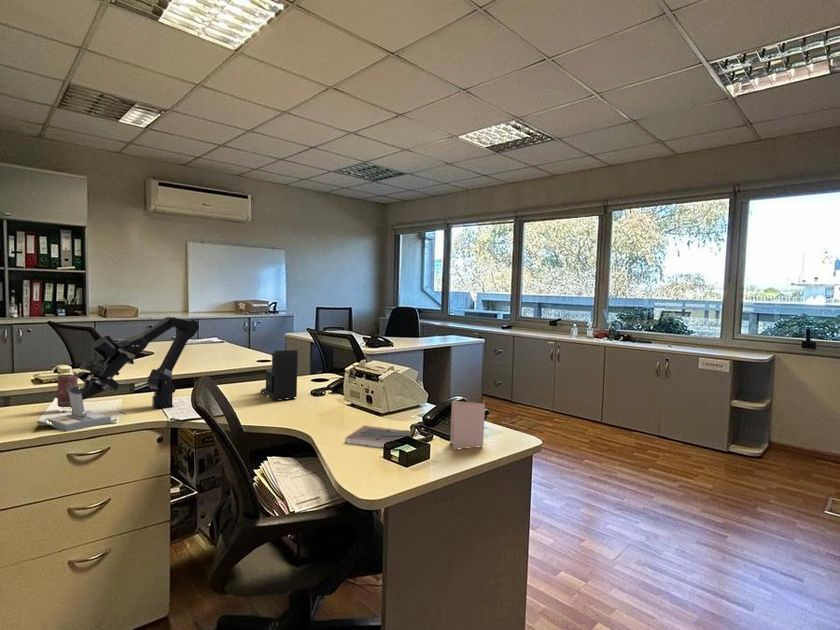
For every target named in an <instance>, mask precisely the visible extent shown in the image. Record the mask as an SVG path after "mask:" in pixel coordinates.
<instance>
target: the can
mask: <svg viewBox="0 0 840 630" xmlns="http://www.w3.org/2000/svg"><path fill="white" fill-rule="evenodd" d="M76 375H77V374H63V375H59V376H58V378H57V405H58V406H59V407H71V402H70V397H69V392H67V390H66V389H67V387H68V386H75V387H78V382H79V381H78V379H79V378H78V377H76Z"/></svg>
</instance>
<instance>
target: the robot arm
mask: <svg viewBox="0 0 840 630" xmlns="http://www.w3.org/2000/svg"><path fill="white" fill-rule="evenodd" d="M172 328H174V329H175V338H174V339H173V341H172V343H171V345H170V347H169V348H168V351H167V352H166V354H165V357H164V359H163V360H162V363H161V364H160V365H159V367H158V368H157V369H154V368H153V369H151V372H150V374H149V375H148V376H147V385H148V387H149V388H150V389H151V392H153V395H152V397H151V399H152V404H151V406H152V407H153V408H154V409H156V410H158V409H167V408H166V407H168V408H172V407H171V406H174V405H173V396H174V395H173V394H174V393H176V390H177V387H176V386H175V385H174V384H173V383H172V380H173V370H174V368H175V366H176V364H177V361H178V360H179V359H180V356H181V354H182V353H183V351H184V349H185V347H186V345H187V344H188V341H189V340H190V339H192V338H193V337H194V336H195V335H196V334H197V332H198V331H199V329H200V325H199V323H198V321H197V320H195V319H188V318H187V319H186V318H184V319H181V318H177V317H173V316H166V317H164V318H163V319H162V320H161V321H159V322H157V323H156V324H154V325H153V326H150V328H147V329H146V330H144V331H143V332H141V333H139V334H137V335H133V336H130V337H127V338H125V339H122V341H121V342H118V343H117V342H116V341H115V340H113V338H112V337H111V336H109V335H104V336H103V337H100V338H98V339H97V340H95V341H93V342H92V344H91V345H90V349H92V350H93V351H94V352H95V353H96V354H97V355H98V356H99V357H101V358H102V359H106V358H107V359H106V361H105V362H103V361H102V362H101V361H99V360H95V361H90V360H89V361H88V360H84V359H83V360H82V362H81V365H80V366H79V369H80V370H82V371H79V372H78V373H77V374H75V375H76V377H78V379H79V380H81V381H82V382H83V383H84V384H83V385H84V386H83V388H82V393H81V394H82V400H83V401H84V400H86V399H88V398H90V397H93V396H95V395H97V394H100V393H103V392H105V391H106V387H109V388H110V391H111V392H117V391H118V389H120V383H119V382H117V381H116V380H115V379H114V377H115V376H120V374H121V373H120V371H121V370H122V368H123V367H125V365H126V364H128V365H134V364H135V361H134V357H133V356H129V355H139V354H141V353H142V352H143V351H144V350H145V349H146V348H147V346H148V345H149V344H150V343H151V342H152V341H154V340H155V339H158V337H159V336H161V335H163V334H164V333H166V332H168V331H169V330H171V329H172ZM128 354H129V355H128ZM83 370H84V371H83ZM174 407H175V406H174Z"/></svg>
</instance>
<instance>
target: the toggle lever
mask: <svg viewBox="0 0 840 630" xmlns="http://www.w3.org/2000/svg"><path fill="white" fill-rule="evenodd" d="M66 390H67V392H69V397H70V402H71V408H72V412H71V414H72V415H74V416H77V417H81V418H84V417H86V413H85V412H86V411H85V407H84V402H83V401H84V400H82V394H81V393H82V390H83V388H81V387H78V386H77V387H75V386H68V387H67V389H66Z"/></svg>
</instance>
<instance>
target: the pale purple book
mask: <svg viewBox="0 0 840 630" xmlns="http://www.w3.org/2000/svg"><path fill="white" fill-rule="evenodd" d="M410 431H411V430H407V429H405V430H403V429H395V428H386V427H379V426H370V425H363V426H361V427H359V428H358V429H356V430H355V431H353V432H352V433H350V434H348V436H346V437H344V439H345V440H344V443H345V442H350V443H356V444H355V445H358V444H361V445H360V446H365V445H368V447H373V446H375V448H380V447H383V445H384V444H385V443H386V442H389V441H392V440H396V439H399V438H401V437H404V436H409V435H410ZM418 435H419V436H420V431H416V433H415V435H414V437H417V436H418ZM350 443H349V444H350Z"/></svg>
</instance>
